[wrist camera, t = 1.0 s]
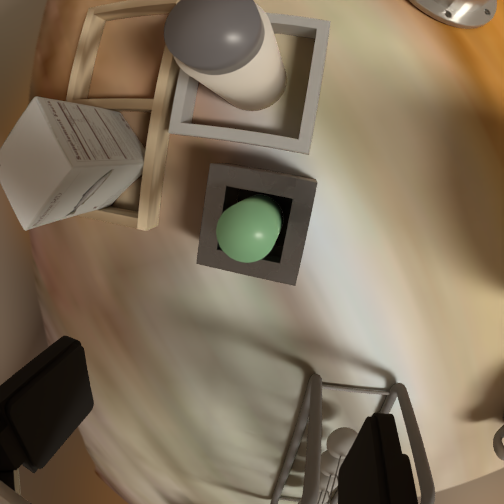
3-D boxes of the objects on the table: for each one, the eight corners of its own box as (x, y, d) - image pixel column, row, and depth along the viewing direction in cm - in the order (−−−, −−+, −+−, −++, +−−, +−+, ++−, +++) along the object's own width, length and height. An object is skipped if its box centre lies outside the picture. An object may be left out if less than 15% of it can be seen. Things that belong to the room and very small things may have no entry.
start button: (240, 190, 27) (220, 197, 21) (287, 199, 26) (281, 209, 21) (232, 236, 28) (212, 255, 22) (278, 246, 27) (269, 268, 22)
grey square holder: (226, 163, 28) (210, 163, 24) (316, 179, 27) (317, 182, 23) (214, 247, 31) (196, 263, 26) (297, 266, 30) (295, 285, 25)
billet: (226, 47, 25) (170, -18, 13) (291, 54, 25) (275, -19, 12) (215, 106, 27) (147, 71, 15) (280, 115, 26) (256, 77, 14)
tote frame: (202, 20, 25) (193, 10, 22) (329, 32, 23) (330, 21, 21) (179, 135, 28) (168, 133, 26) (309, 154, 27) (308, 153, 24)
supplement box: (110, 208, 32) (22, 235, 20) (78, 155, 31) (-11, 161, 19) (158, 164, 29) (72, 170, 17) (121, 109, 29) (32, 93, 17)
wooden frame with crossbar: (101, 14, 26) (88, 8, 23) (197, 4, 24) (188, -6, 22) (69, 207, 33) (54, 210, 30) (158, 225, 31) (146, 230, 29)
